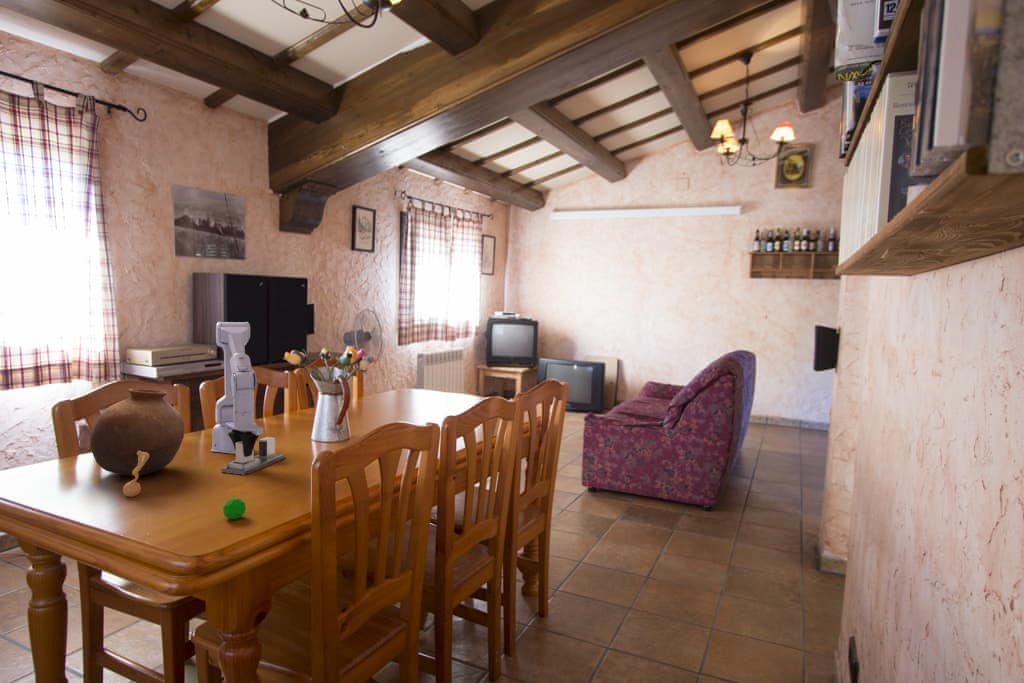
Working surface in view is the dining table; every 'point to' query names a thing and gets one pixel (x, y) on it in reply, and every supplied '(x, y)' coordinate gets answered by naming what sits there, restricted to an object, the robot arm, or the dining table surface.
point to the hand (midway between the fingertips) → (244, 455)
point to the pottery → (137, 433)
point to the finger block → (242, 454)
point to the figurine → (133, 486)
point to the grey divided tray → (256, 458)
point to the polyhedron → (234, 508)
